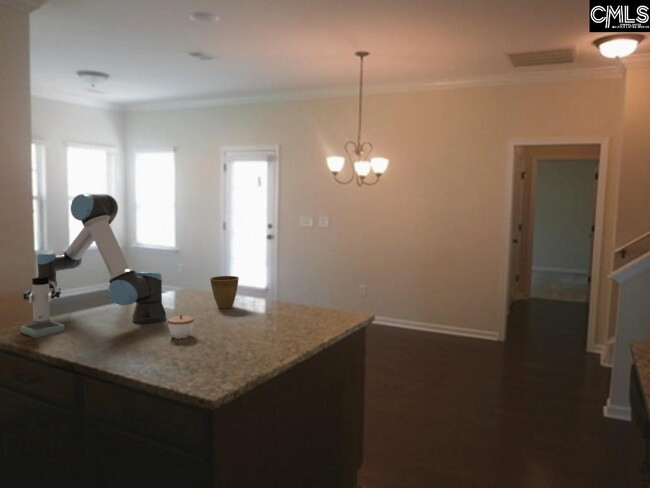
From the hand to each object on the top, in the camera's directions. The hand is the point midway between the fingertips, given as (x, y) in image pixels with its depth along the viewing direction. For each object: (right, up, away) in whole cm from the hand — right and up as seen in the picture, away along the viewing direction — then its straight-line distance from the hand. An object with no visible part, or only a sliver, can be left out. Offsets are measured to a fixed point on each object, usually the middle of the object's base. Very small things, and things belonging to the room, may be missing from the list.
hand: (39, 299), depth 204 cm
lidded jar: (+59, -16, +2) cm, 61 cm away
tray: (-2, -15, +6) cm, 16 cm away
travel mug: (-2, -11, +6) cm, 12 cm away
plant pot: (+66, -11, +57) cm, 88 cm away
